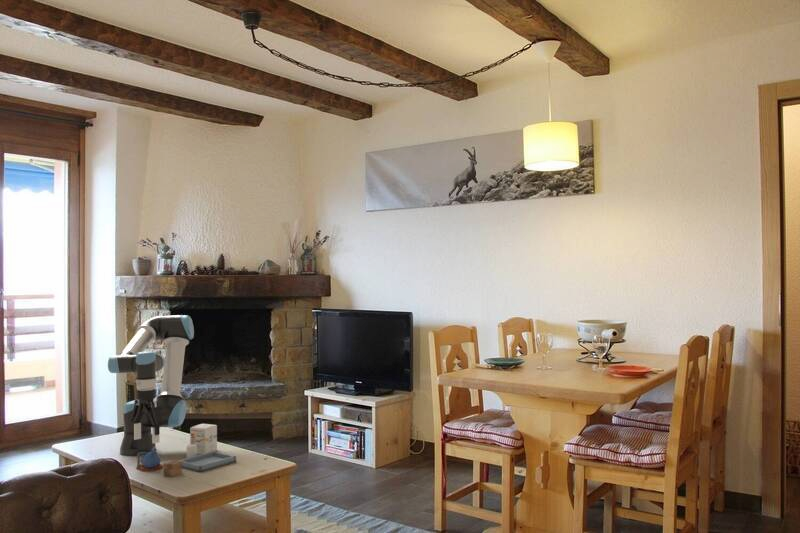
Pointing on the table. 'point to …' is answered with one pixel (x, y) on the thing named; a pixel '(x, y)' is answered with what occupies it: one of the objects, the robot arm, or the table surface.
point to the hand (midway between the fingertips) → (146, 441)
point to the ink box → (204, 438)
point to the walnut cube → (172, 468)
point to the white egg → (191, 450)
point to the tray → (207, 461)
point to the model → (149, 461)
